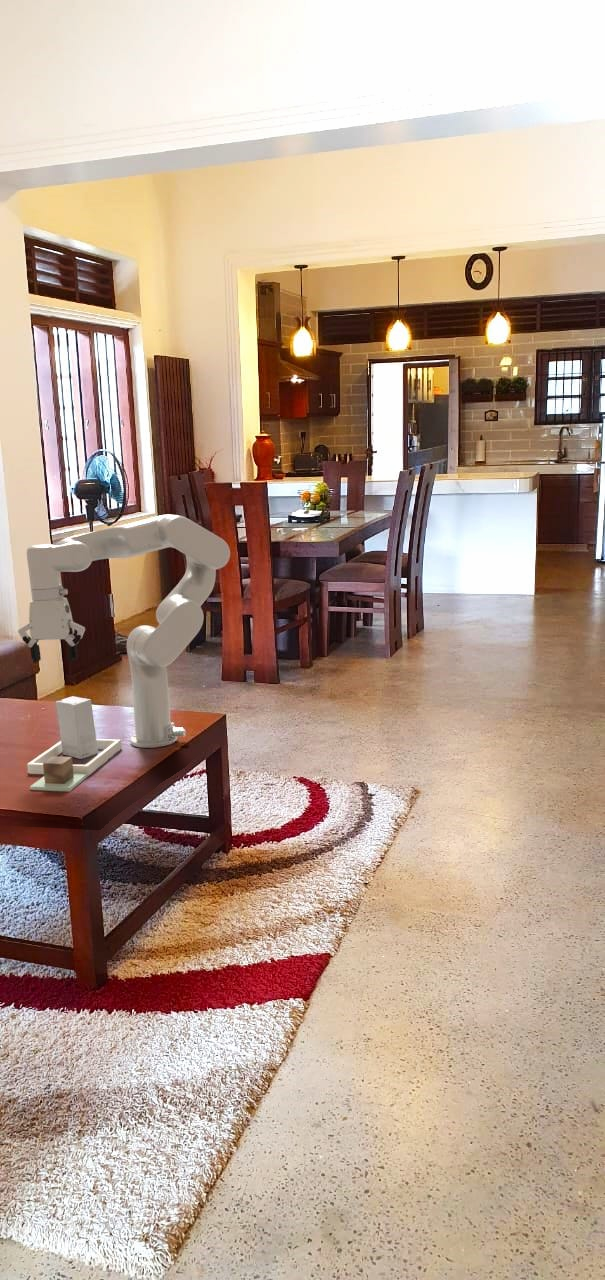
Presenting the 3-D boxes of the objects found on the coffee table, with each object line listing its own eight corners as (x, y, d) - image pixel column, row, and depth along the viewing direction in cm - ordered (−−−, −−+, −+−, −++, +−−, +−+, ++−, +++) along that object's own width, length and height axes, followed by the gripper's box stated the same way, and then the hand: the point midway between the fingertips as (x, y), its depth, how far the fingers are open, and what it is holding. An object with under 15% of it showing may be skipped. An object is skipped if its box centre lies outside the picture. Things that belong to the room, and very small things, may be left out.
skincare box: (98, 754, 249) (93, 699, 246) (79, 760, 245) (74, 704, 242) (79, 748, 255) (74, 694, 252) (60, 754, 250) (54, 699, 247)
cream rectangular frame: (121, 748, 253) (120, 739, 253) (88, 775, 233) (87, 766, 233) (65, 746, 257) (64, 738, 256) (28, 773, 236) (27, 764, 236)
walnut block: (73, 776, 231) (71, 756, 230) (64, 784, 226) (62, 763, 225) (54, 775, 232) (52, 756, 231) (44, 783, 227) (42, 763, 226)
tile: (87, 776, 233) (87, 773, 232) (69, 791, 223) (69, 788, 223) (49, 775, 235) (49, 772, 235) (30, 789, 225) (29, 786, 225)
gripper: (85, 590, 240) (93, 656, 244) (20, 592, 243) (29, 658, 247) (74, 595, 233) (82, 664, 237) (7, 598, 236) (16, 665, 239)
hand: (55, 661), depth 242 cm, fingers open, 9 cm apart
